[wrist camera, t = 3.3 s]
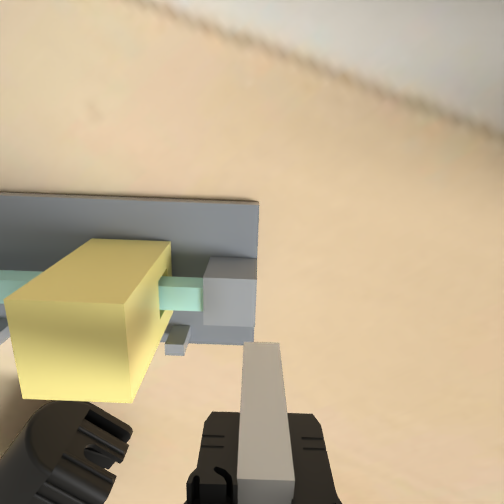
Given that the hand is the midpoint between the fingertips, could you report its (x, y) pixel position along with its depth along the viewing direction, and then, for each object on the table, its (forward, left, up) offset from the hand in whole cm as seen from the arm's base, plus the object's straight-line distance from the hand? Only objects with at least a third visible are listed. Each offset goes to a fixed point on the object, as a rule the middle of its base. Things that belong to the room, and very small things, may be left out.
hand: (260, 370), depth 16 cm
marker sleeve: (0, -8, -9) cm, 12 cm away
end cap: (+15, -15, -11) cm, 24 cm away
